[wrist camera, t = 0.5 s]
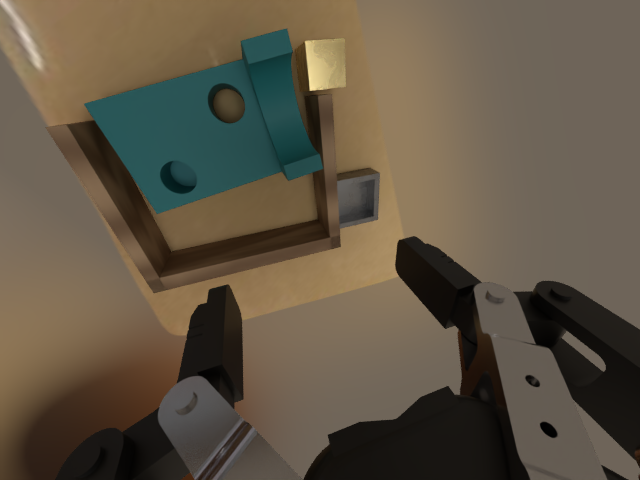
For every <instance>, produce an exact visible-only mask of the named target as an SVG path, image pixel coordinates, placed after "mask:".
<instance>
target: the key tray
mask: <svg viewBox="0 0 640 480" xmlns="http://www.w3.org/2000/svg"><path fill="white" fill-rule="evenodd" d="M379 179H380V173H379V172H377V171H375V170H373V169H371V168H367V169H362V170H356V171H351V172H346V173H340V174H337V191H338V208H339V226H340V228H344V227H348V226H353V225H357V224H361V223H366V222H370V221H374V220H378V203H379Z"/></svg>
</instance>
